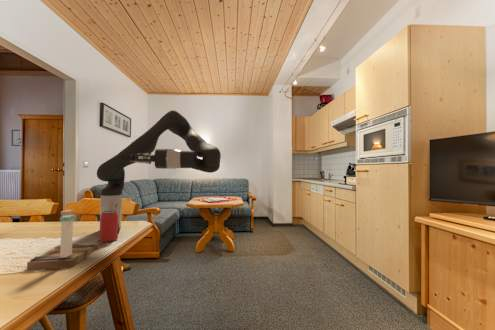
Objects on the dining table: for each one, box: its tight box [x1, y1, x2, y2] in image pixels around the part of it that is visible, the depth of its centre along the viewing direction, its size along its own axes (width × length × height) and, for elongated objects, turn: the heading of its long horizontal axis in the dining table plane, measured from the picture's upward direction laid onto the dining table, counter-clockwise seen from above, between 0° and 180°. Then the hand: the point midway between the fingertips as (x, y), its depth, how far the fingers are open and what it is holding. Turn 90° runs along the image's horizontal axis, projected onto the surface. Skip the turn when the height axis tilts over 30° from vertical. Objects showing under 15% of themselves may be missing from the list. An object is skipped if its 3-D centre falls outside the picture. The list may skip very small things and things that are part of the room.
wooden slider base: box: [26, 242, 99, 271], centre depth 80 cm, size 18×12×2 cm, turn 11°
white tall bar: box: [60, 209, 75, 217], centre depth 85 cm, size 4×2×12 cm, turn 11°
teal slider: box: [59, 214, 76, 258], centre depth 74 cm, size 4×2×12 cm, turn 11°
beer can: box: [99, 211, 119, 243], centre depth 101 cm, size 7×7×12 cm
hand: (120, 158), depth 89 cm, fingers closed
